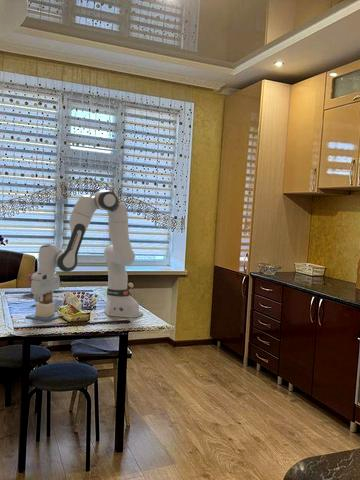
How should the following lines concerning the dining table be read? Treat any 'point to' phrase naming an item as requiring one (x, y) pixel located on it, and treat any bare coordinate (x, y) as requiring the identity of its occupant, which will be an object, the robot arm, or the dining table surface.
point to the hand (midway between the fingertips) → (45, 299)
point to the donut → (37, 297)
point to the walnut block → (47, 298)
